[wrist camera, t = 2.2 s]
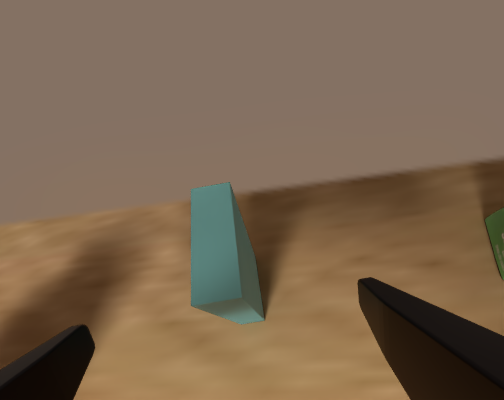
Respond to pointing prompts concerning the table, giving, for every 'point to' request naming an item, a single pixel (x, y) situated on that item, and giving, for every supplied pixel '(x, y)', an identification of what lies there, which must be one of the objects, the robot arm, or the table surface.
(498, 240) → the ink box
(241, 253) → the domino
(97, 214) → the table surface
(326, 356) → the table surface
